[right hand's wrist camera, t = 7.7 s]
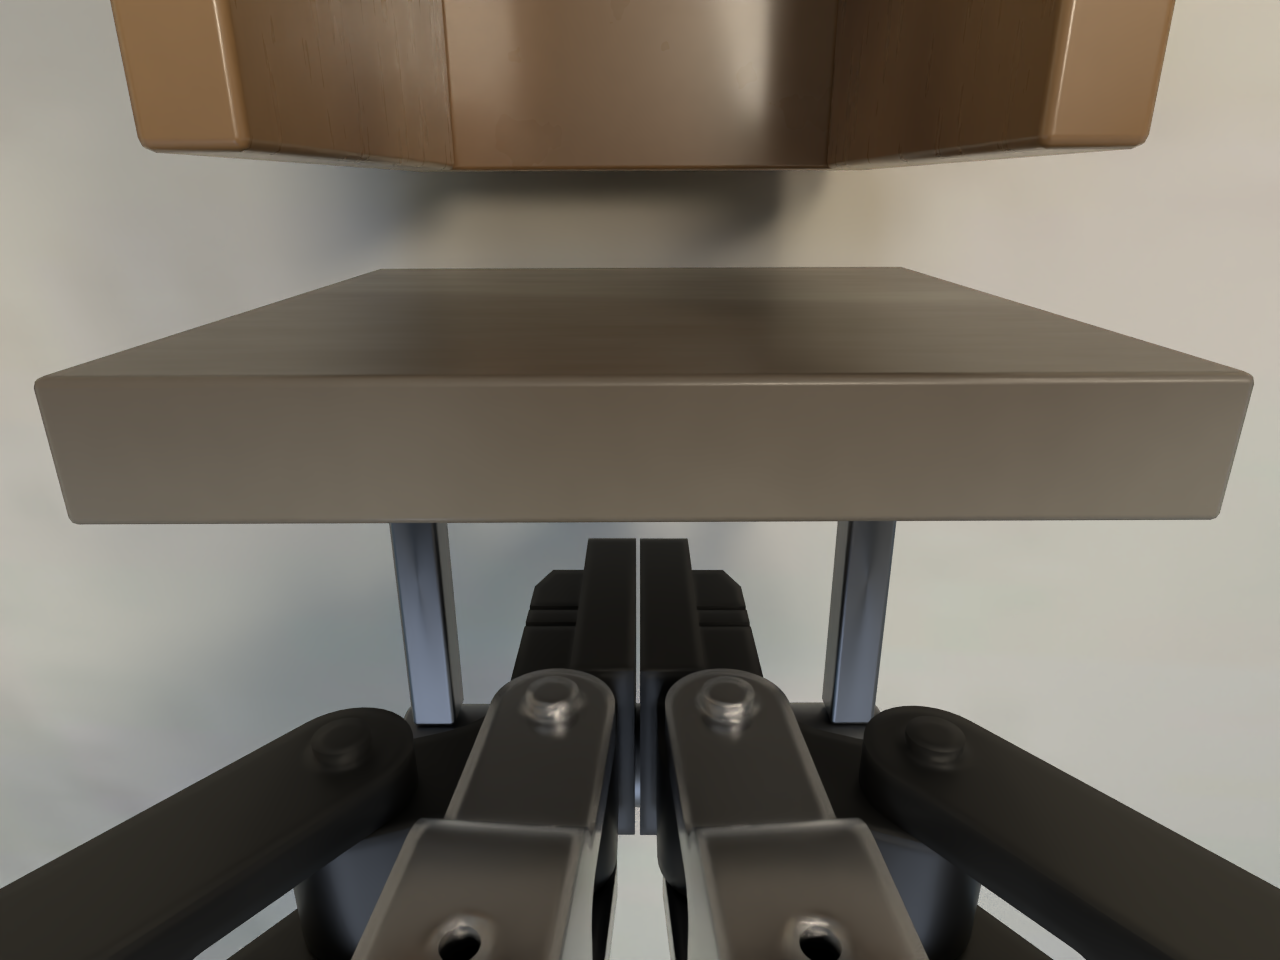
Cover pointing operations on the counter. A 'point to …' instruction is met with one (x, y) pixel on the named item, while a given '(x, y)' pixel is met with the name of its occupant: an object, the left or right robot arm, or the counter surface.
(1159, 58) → the drawer
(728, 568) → the counter surface
